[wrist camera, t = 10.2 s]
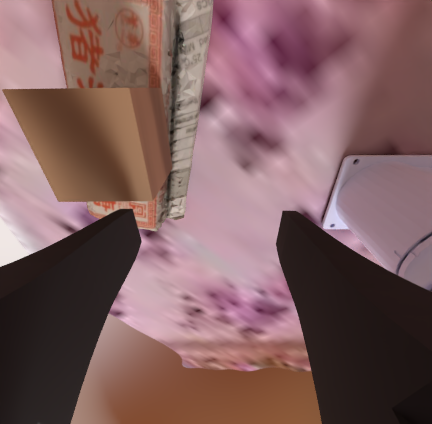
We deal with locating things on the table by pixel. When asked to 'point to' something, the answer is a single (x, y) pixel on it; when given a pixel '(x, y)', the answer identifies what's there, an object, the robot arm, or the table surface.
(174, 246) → the table surface
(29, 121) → the tan cube
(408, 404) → the robot arm
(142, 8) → the packaged product
